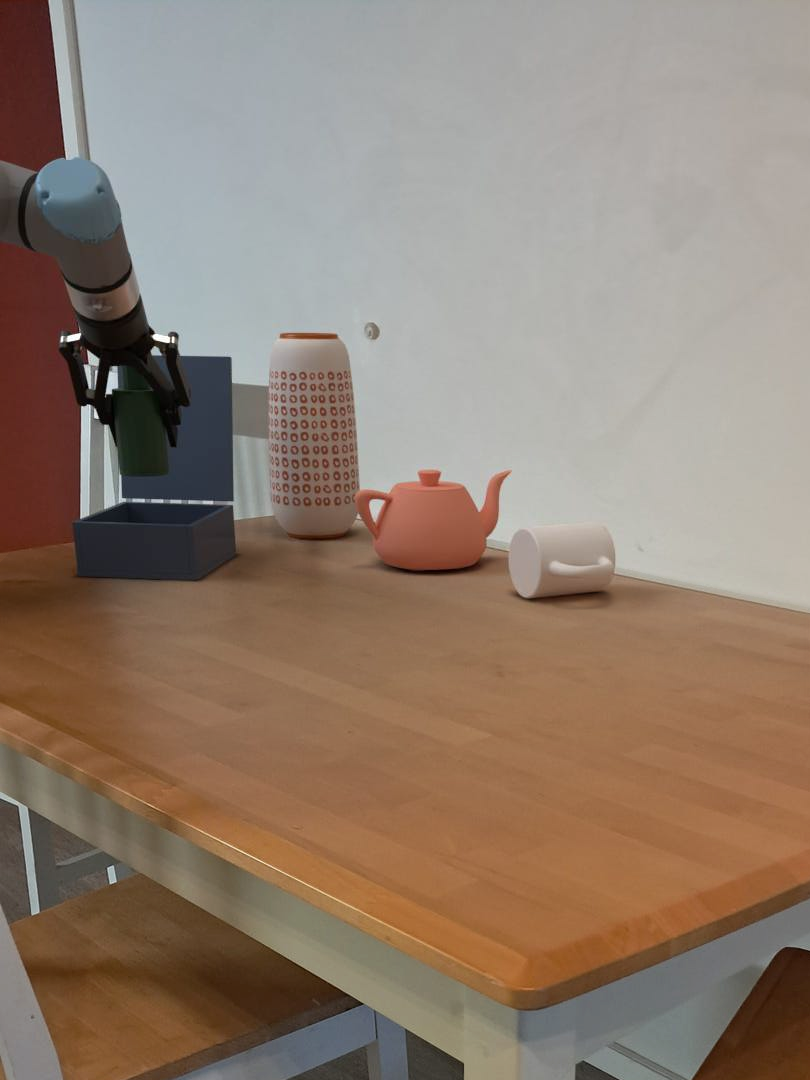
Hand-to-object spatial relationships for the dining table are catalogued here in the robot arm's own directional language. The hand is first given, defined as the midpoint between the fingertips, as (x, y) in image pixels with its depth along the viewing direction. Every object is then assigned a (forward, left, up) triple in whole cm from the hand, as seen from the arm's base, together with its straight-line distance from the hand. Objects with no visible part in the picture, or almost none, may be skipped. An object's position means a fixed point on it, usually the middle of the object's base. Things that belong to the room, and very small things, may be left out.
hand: (146, 438), depth 162 cm
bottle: (+1, -4, -4) cm, 5 cm away
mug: (+55, -9, -16) cm, 58 cm away
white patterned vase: (+15, +29, -16) cm, 36 cm away
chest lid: (0, +12, 0) cm, 12 cm away
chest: (0, +2, -16) cm, 16 cm away
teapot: (+36, +9, -16) cm, 40 cm away
